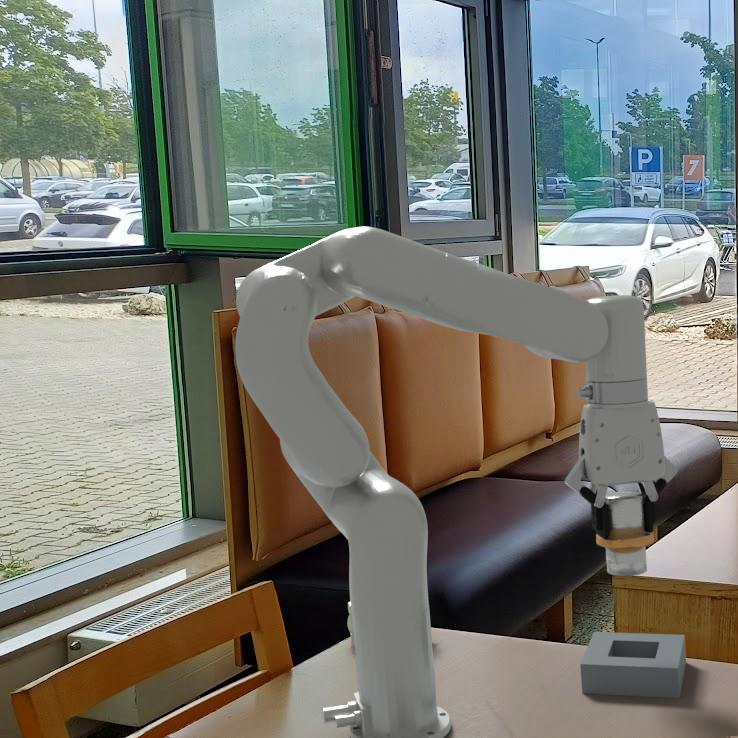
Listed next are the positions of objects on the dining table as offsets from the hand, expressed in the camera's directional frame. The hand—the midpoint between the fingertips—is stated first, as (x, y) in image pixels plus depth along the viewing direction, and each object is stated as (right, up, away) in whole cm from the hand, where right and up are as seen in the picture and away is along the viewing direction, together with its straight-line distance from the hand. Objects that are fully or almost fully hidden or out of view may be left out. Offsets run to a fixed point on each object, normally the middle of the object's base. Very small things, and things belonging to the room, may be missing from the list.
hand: (623, 531), depth 147 cm
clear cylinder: (+1, -5, 0) cm, 5 cm away
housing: (+2, -20, +2) cm, 21 cm away
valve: (-30, -21, +26) cm, 45 cm away
